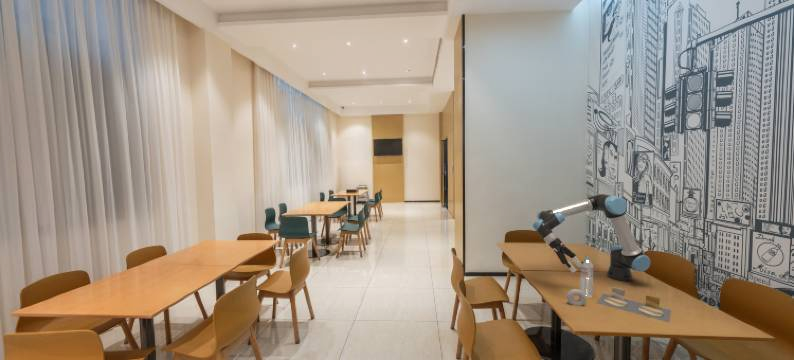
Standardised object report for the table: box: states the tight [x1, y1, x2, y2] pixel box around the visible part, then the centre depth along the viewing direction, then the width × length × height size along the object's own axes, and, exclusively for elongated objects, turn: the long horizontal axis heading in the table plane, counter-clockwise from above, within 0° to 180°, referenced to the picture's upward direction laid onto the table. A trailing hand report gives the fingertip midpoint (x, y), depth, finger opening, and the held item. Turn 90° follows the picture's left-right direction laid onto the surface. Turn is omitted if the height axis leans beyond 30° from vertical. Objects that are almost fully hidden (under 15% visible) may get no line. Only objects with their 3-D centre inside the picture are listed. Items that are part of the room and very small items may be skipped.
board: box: [596, 293, 672, 323], centre depth 177 cm, size 18×32×1 cm, turn 46°
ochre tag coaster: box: [638, 294, 664, 317], centre depth 172 cm, size 14×11×6 cm
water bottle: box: [579, 256, 595, 299], centre depth 191 cm, size 7×7×25 cm
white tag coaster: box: [604, 286, 627, 307], centre depth 183 cm, size 14×11×6 cm
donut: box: [566, 288, 587, 307], centre depth 180 cm, size 10×4×10 cm, turn 75°
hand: (577, 269), depth 194 cm, fingers open, 13 cm apart
